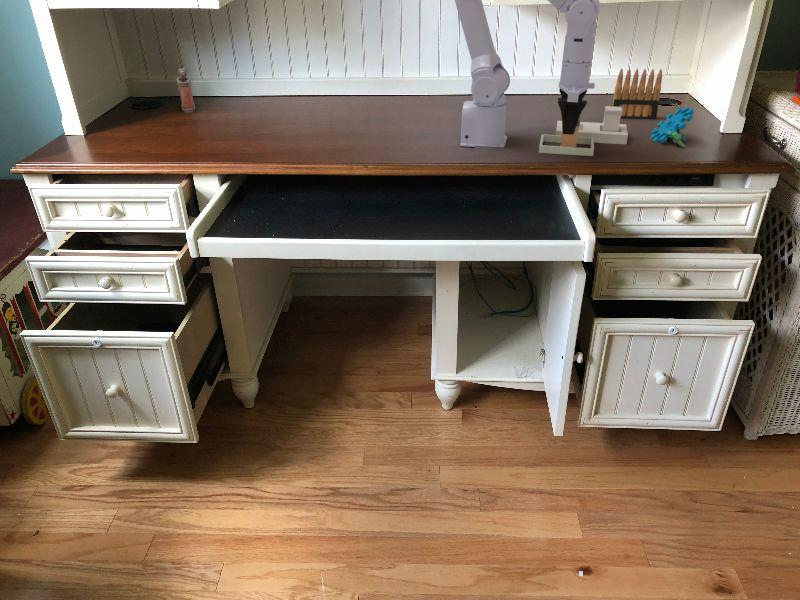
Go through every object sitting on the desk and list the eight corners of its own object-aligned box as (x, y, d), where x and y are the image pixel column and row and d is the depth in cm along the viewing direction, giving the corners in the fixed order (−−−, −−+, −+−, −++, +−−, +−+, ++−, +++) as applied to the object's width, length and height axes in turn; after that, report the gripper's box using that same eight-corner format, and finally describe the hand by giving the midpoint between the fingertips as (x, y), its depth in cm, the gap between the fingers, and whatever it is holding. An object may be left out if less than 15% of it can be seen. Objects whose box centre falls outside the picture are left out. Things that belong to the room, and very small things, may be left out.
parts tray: (538, 155, 134) (539, 145, 133) (540, 143, 141) (541, 134, 140) (592, 158, 132) (594, 149, 131) (592, 146, 139) (593, 137, 138)
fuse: (601, 139, 141) (605, 110, 137) (600, 134, 143) (605, 106, 140) (617, 140, 140) (622, 111, 137) (616, 135, 143) (621, 106, 139)
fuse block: (554, 142, 141) (556, 131, 140) (556, 131, 148) (557, 120, 146) (625, 147, 138) (627, 135, 137) (624, 135, 145) (626, 124, 143)
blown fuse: (559, 150, 135) (563, 120, 132) (560, 145, 138) (563, 115, 135) (575, 151, 134) (580, 121, 131) (576, 146, 137) (580, 116, 134)
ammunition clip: (609, 120, 155) (618, 69, 148) (608, 118, 156) (617, 67, 150) (655, 122, 153) (666, 70, 147) (654, 119, 155) (664, 68, 148)
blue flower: (647, 126, 145) (687, 97, 139) (662, 144, 147) (703, 117, 141) (649, 148, 137) (692, 118, 131) (665, 167, 139) (709, 139, 133)
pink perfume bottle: (181, 105, 172) (174, 66, 167) (194, 103, 173) (187, 65, 168) (182, 112, 166) (174, 73, 161) (195, 111, 167) (188, 71, 161)
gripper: (598, 69, 120) (588, 140, 127) (597, 53, 132) (588, 119, 139) (560, 67, 121) (552, 138, 129) (562, 52, 133) (555, 117, 141)
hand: (568, 128), depth 134 cm, fingers open, 7 cm apart
